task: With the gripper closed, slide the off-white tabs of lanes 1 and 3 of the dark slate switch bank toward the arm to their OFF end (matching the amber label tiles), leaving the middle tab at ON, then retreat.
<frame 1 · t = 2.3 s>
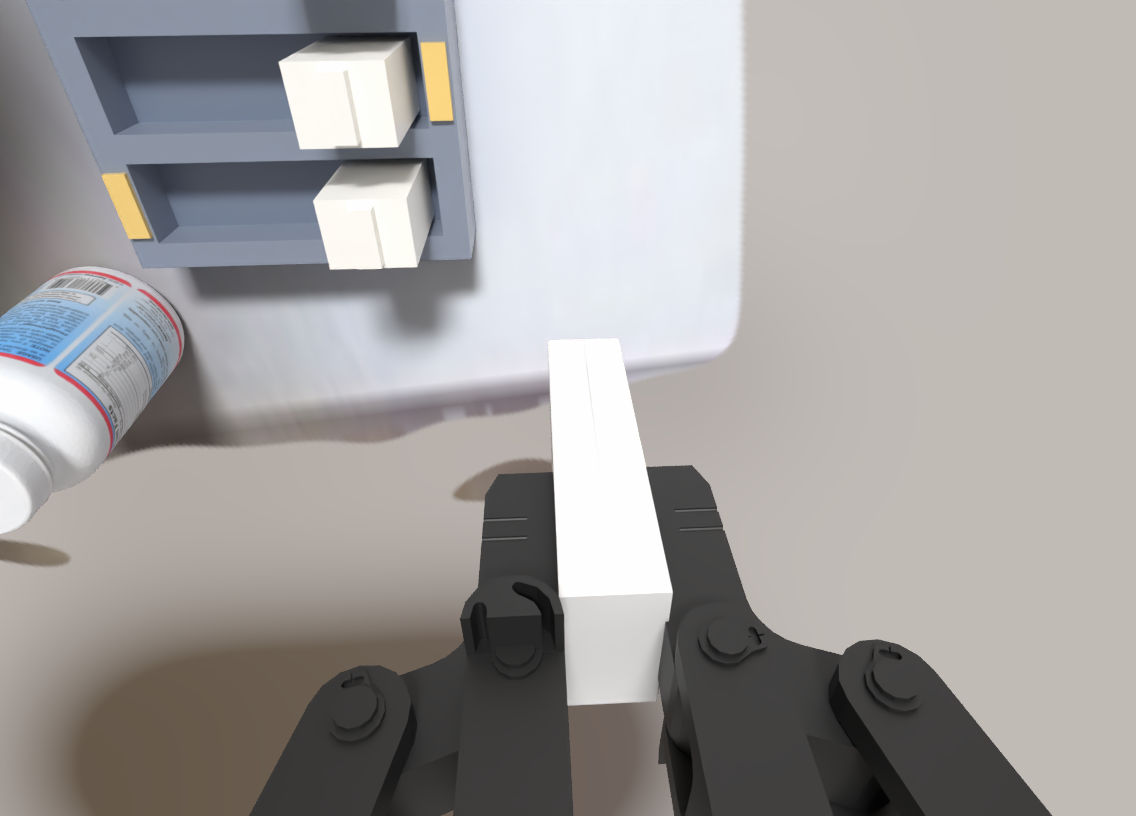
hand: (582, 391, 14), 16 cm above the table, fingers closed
tab 1: (379, 210, 23), point 4 cm above the table, slide at 7.0 cm
pill bottle: (123, 320, 30), on the table
tab 2: (357, 90, 21), point 4 cm above the table, slide at 7.0 cm
switch bank: (286, 69, 24), on the table
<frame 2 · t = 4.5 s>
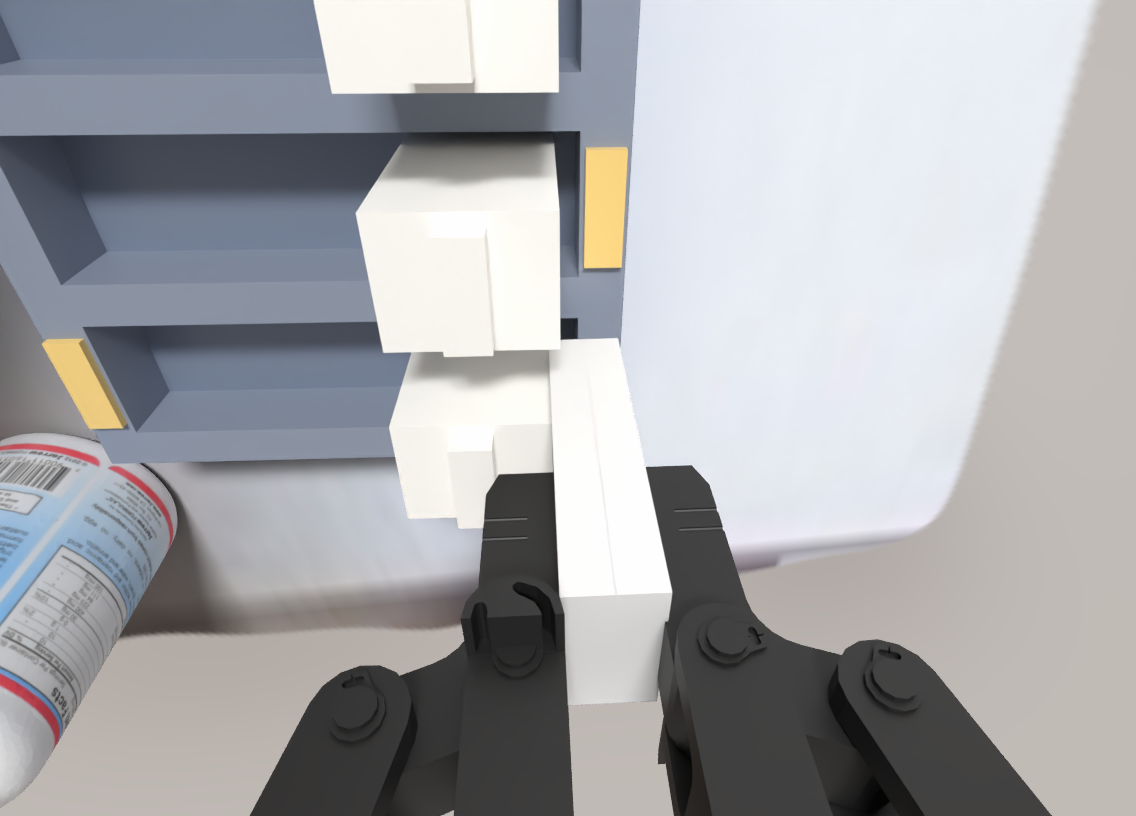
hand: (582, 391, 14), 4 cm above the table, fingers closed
tab 1: (483, 404, 14), point 4 cm above the table, slide at 6.8 cm, touching gripper
pill bottle: (91, 492, 21), on the table
tab 2: (476, 232, 12), point 4 cm above the table, slide at 7.0 cm
switch bank: (342, 168, 15), on the table
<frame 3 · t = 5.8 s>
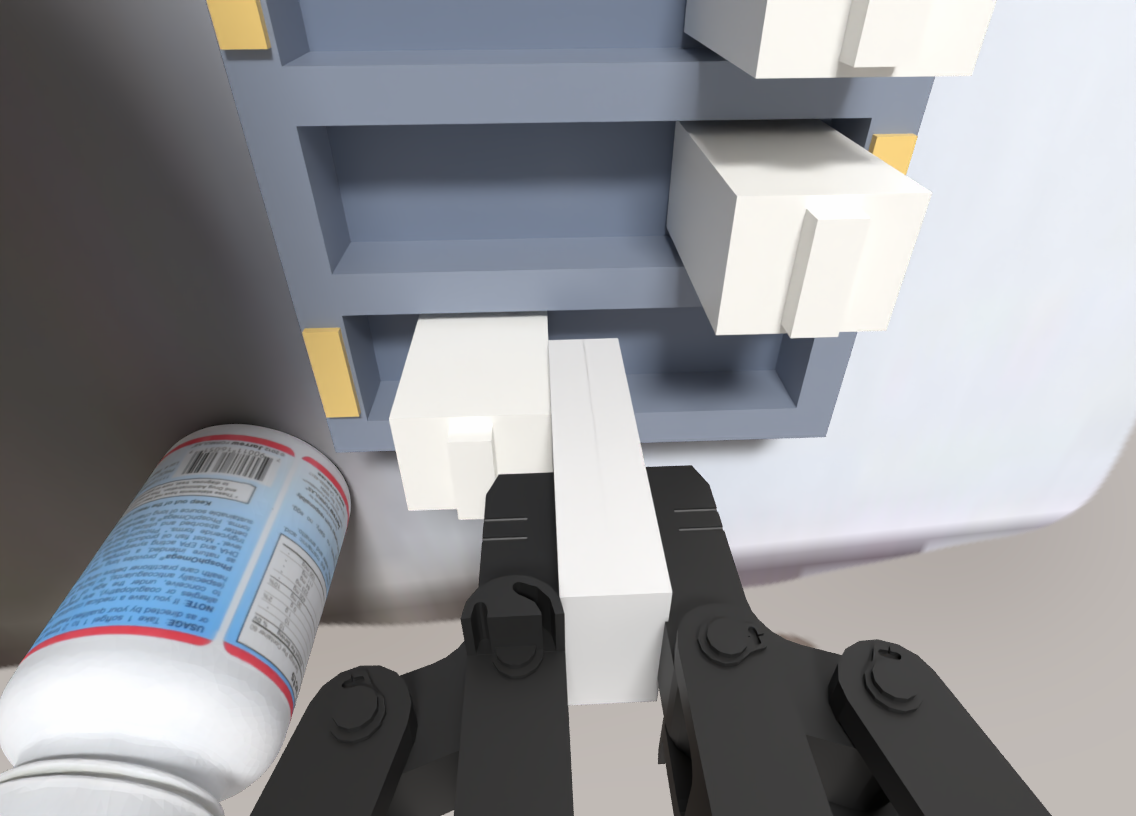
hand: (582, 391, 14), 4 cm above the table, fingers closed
tab 1: (483, 396, 14), point 4 cm above the table, slide at 1.1 cm, touching gripper
pill bottle: (265, 484, 22), on the table
tab 2: (774, 217, 12), point 4 cm above the table, slide at 7.0 cm
switch bank: (578, 158, 15), on the table
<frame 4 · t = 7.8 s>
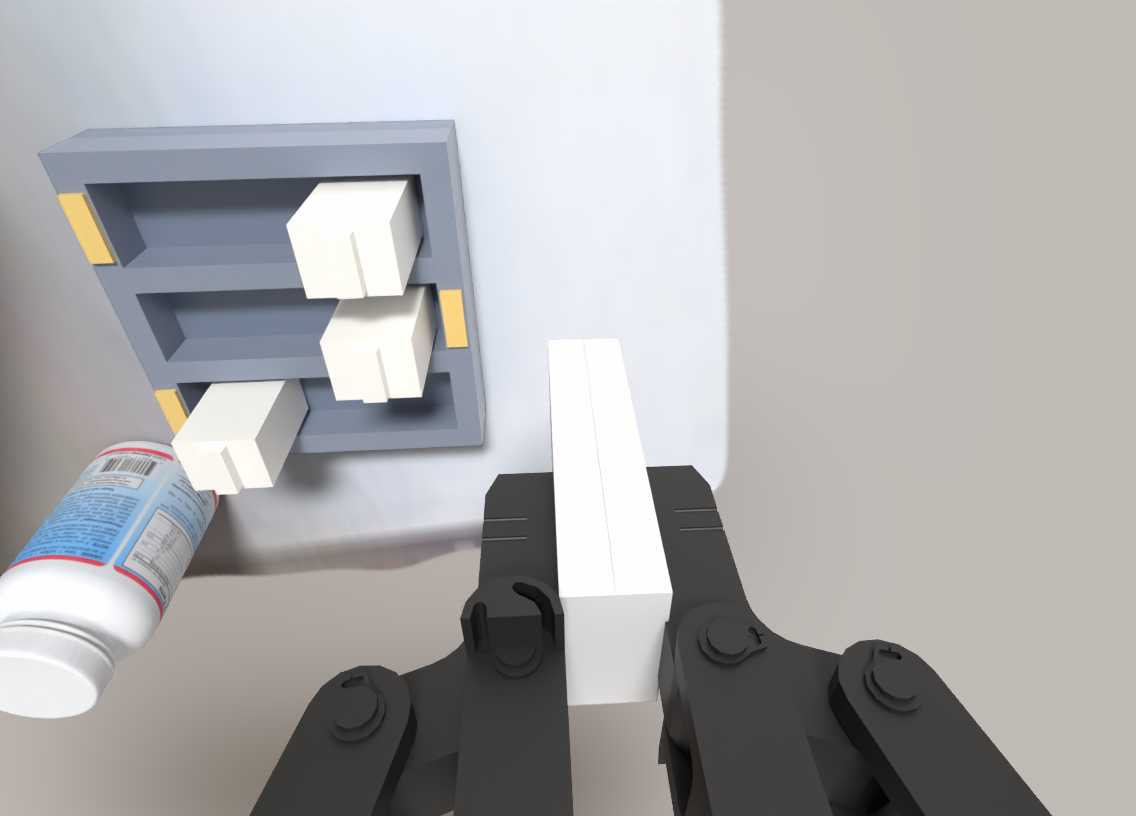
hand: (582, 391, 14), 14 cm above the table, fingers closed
tab 1: (245, 427, 26), point 4 cm above the table, slide at 0.7 cm
tab 3: (361, 232, 21), point 4 cm above the table, slide at 7.0 cm
pill bottle: (163, 478, 33), on the table
tab 2: (384, 336, 24), point 4 cm above the table, slide at 7.0 cm
switch bank: (317, 288, 27), on the table
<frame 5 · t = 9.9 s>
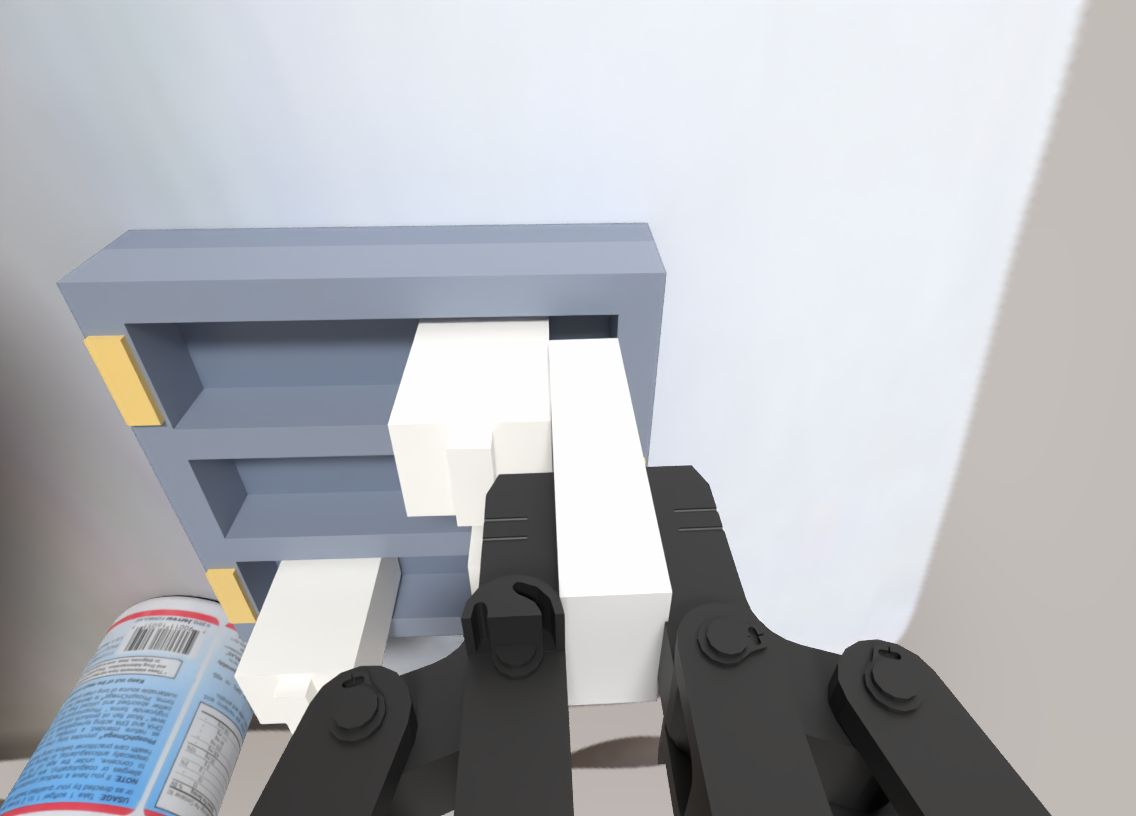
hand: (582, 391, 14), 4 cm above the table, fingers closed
tab 1: (327, 624, 19), point 4 cm above the table, slide at 0.7 cm
tab 3: (483, 402, 14), point 4 cm above the table, slide at 5.9 cm, touching gripper
pill bottle: (202, 632, 26), on the table
tab 2: (537, 524, 17), point 4 cm above the table, slide at 7.0 cm
switch bank: (425, 428, 20), on the table
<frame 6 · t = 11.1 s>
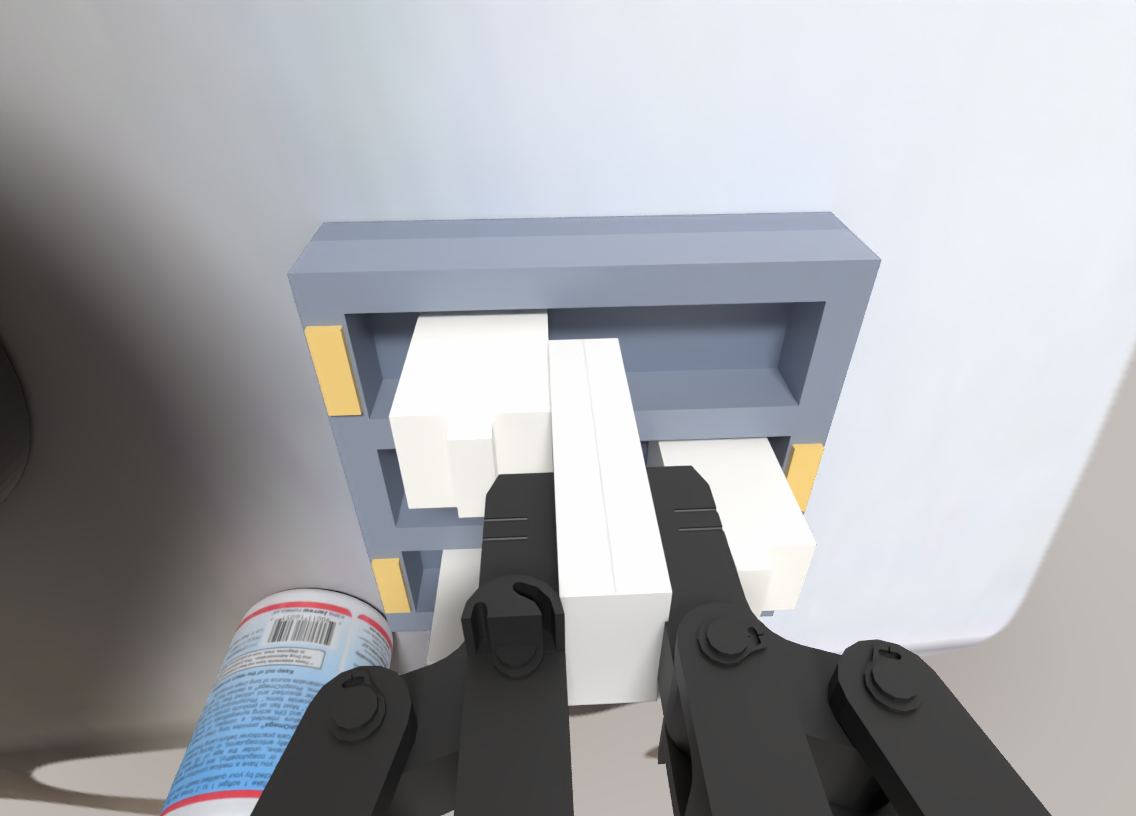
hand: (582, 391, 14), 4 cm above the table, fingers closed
tab 1: (492, 612, 19), point 4 cm above the table, slide at 0.7 cm
tab 3: (483, 394, 14), point 4 cm above the table, slide at 1.1 cm, touching gripper
pill bottle: (323, 624, 26), on the table
tab 2: (719, 510, 17), point 4 cm above the table, slide at 7.0 cm
switch bank: (579, 418, 20), on the table
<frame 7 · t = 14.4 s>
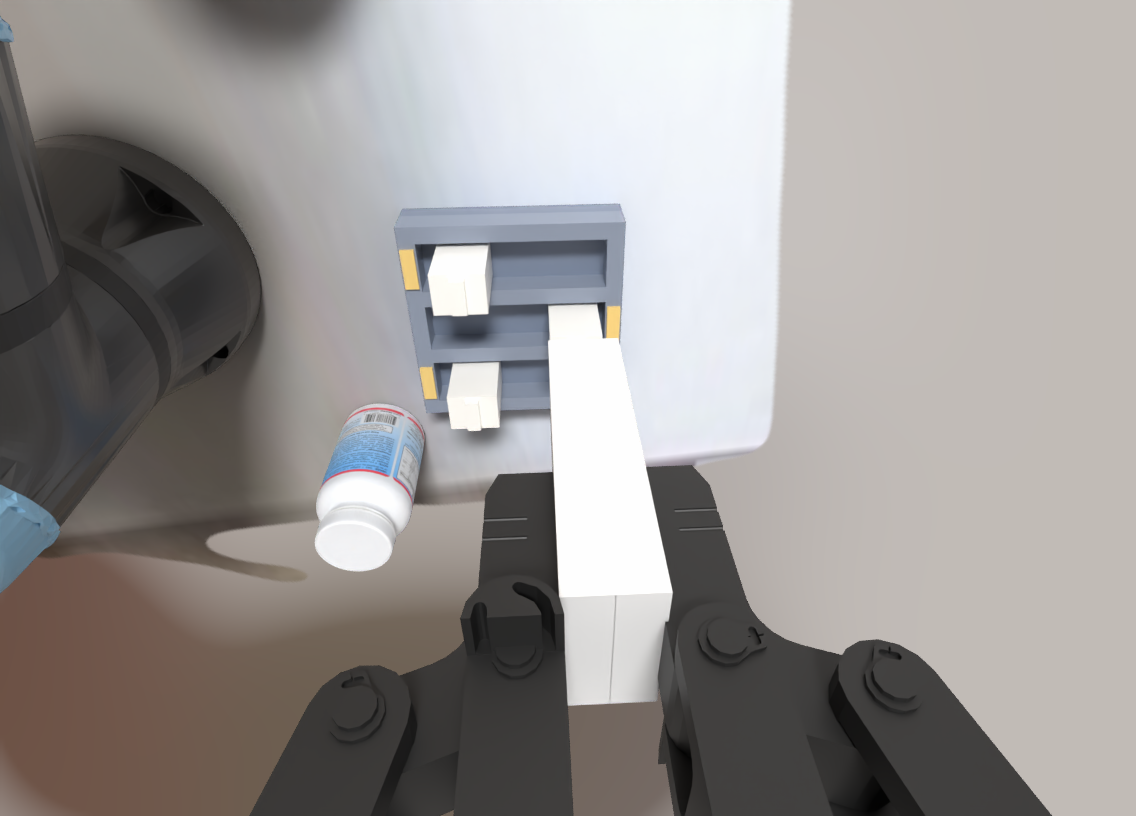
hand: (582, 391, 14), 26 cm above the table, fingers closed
tab 1: (476, 391, 41), point 4 cm above the table, slide at 0.7 cm
tab 3: (462, 276, 36), point 4 cm above the table, slide at 0.6 cm
pill bottle: (386, 431, 48), on the table
tab 2: (574, 334, 39), point 4 cm above the table, slide at 7.0 cm
switch bank: (517, 303, 42), on the table
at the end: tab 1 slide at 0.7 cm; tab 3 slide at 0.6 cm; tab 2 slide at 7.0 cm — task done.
